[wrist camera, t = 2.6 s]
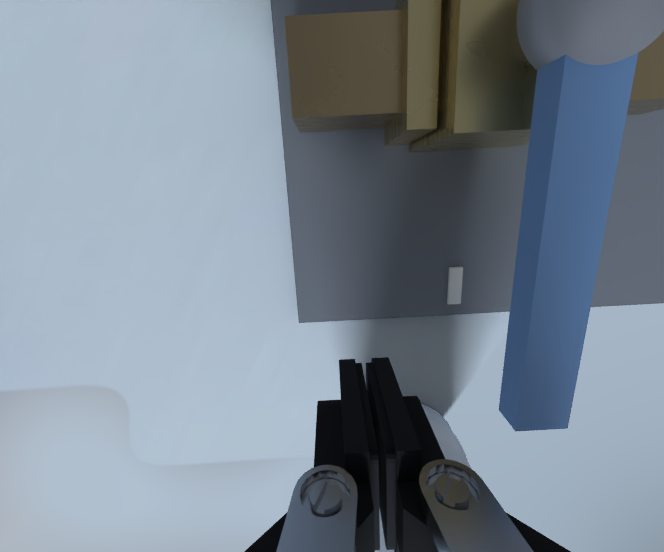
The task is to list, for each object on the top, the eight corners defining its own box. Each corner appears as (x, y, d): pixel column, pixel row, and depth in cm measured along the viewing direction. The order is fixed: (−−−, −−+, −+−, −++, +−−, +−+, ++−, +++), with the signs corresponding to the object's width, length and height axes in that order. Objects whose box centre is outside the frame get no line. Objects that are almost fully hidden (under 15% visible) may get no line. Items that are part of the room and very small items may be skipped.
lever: (524, -63, 9) (560, -108, 7) (651, -69, 9) (711, -116, 7) (479, 410, 13) (497, 436, 12) (565, 405, 13) (592, 431, 12)
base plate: (272, -3, 16) (268, -17, 15) (731, -27, 16) (761, -43, 15) (300, 316, 21) (298, 324, 20) (651, 297, 21) (670, 303, 20)
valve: (295, 41, 17) (265, -94, 9) (627, 24, 17) (906, -128, 9) (303, 159, 18) (285, 138, 10) (606, 143, 18) (825, 109, 10)
